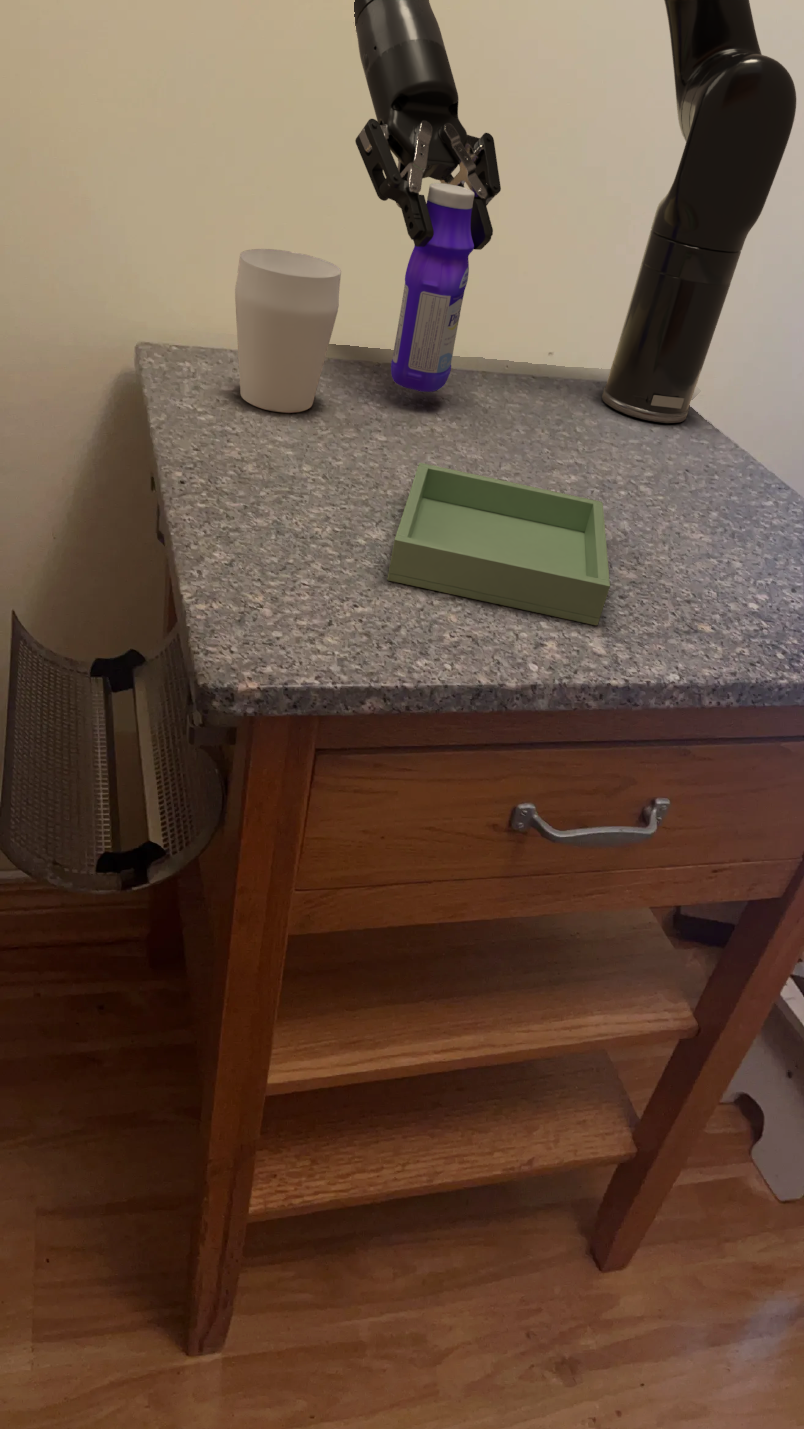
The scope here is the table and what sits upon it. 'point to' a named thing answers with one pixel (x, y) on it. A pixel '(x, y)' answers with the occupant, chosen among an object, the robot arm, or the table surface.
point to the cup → (283, 326)
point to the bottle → (434, 292)
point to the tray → (503, 544)
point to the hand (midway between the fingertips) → (454, 242)
